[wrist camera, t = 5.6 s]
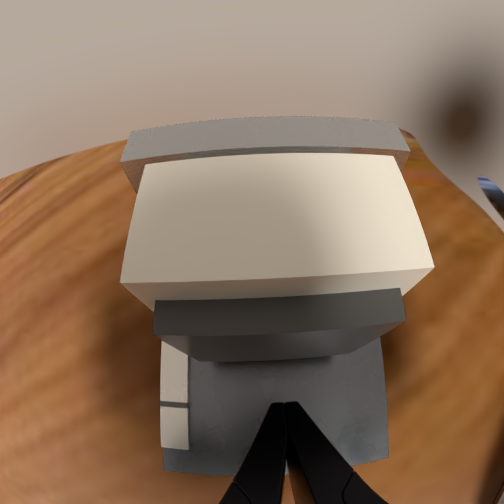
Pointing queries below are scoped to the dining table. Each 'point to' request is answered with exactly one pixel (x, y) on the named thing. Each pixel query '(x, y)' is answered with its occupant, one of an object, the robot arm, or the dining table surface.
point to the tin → (500, 496)
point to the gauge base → (270, 371)
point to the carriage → (274, 253)
